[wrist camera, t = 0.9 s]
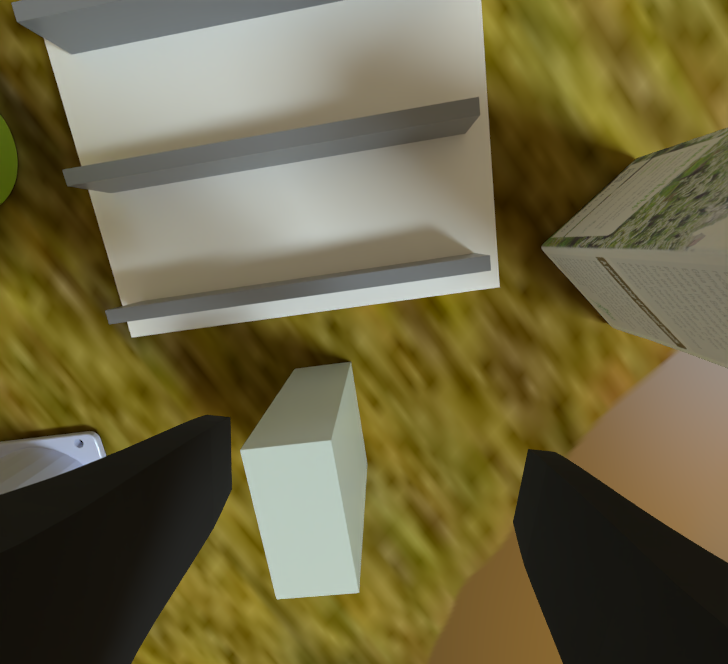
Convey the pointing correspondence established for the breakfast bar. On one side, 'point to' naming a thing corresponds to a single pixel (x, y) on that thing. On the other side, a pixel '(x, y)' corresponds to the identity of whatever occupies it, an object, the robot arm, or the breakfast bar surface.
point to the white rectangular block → (310, 483)
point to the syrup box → (658, 248)
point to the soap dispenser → (7, 161)
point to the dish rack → (277, 151)
